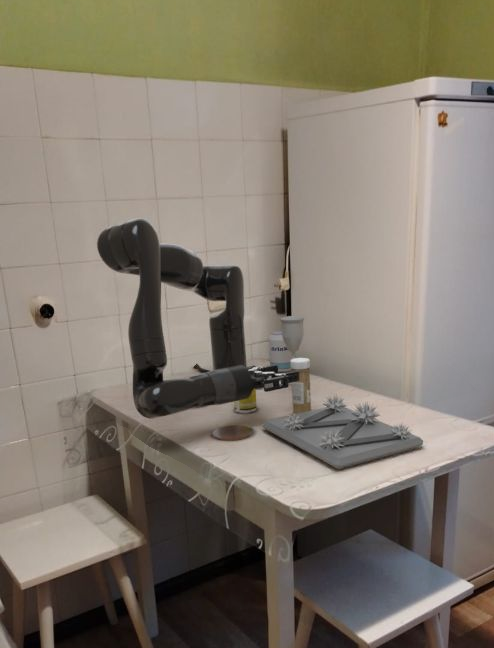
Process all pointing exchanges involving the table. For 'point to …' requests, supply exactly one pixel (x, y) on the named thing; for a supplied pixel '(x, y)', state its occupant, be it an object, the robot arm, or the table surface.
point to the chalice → (292, 333)
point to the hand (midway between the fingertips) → (287, 372)
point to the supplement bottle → (246, 404)
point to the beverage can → (279, 352)
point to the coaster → (232, 432)
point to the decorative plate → (343, 434)
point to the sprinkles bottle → (301, 385)
